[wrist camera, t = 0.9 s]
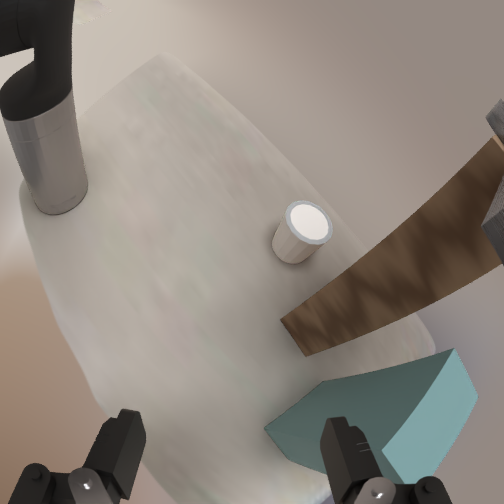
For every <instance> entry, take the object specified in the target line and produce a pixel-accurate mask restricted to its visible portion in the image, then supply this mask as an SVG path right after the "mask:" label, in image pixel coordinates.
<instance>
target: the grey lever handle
mask: <svg viewBox="0 0 504 504" xmlns="http://www.w3.org/2000/svg"><path fill="white" fill-rule="evenodd" d="M486 119H487V121H488V123H489V125H490V126H491V128H492V129H493V131H494V132H495V134H496V135H497V136H498V138H499V139H500V141H501V142H502V144H503V145H504V101H503V100H502V99H500V100H499V102H498V103H497V104H496V105H495V106H494V107H493V109H492V110H491V111H490V112H489V113H488V114H487V115H486ZM481 228H482V230H483V231H484V233H485V234H486V236H487V238H488V239H489V241H490V243H491V244H492V246H493V248H494V249H495V251H496V253H497V255H498V256H499V258H500V260H501V262H502V264H503V265H504V175H503V178H502V180H501V183H500V185H499V188H498V190H497V192H496V195H495V197H494V199H493V201H492V204H491V206H490V208H489V210H488V212H487V215H486V217H485V219H484V221H483V223H482V225H481Z"/></svg>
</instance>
